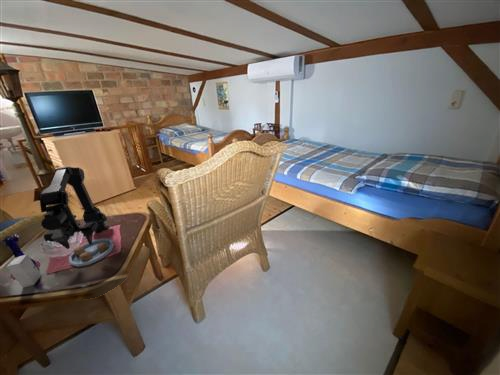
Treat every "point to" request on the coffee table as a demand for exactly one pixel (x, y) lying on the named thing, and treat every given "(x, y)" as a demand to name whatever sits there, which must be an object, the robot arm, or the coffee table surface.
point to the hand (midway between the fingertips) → (79, 246)
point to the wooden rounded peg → (102, 247)
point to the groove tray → (91, 252)
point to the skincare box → (24, 271)
